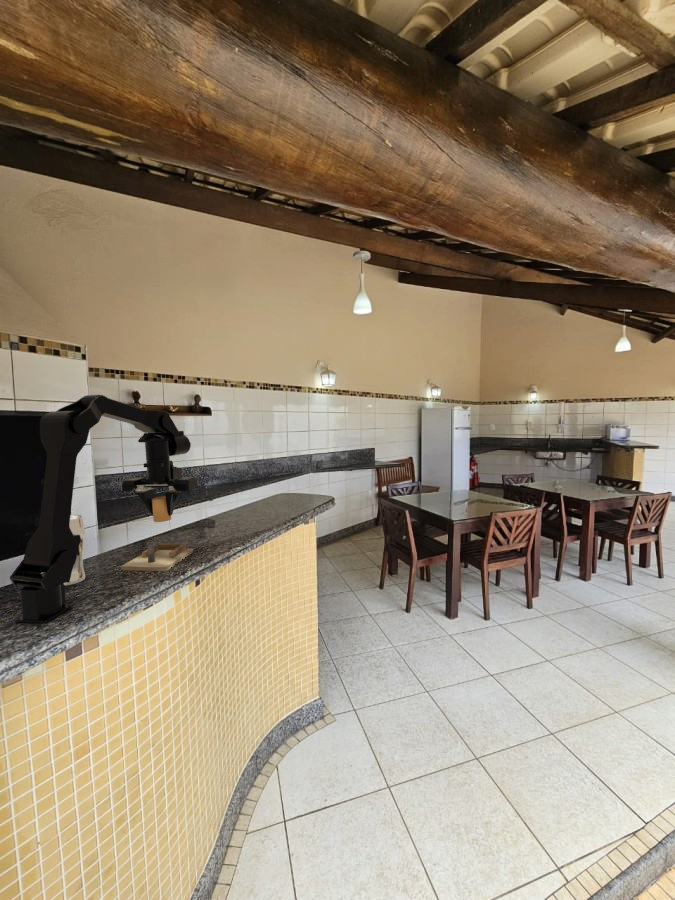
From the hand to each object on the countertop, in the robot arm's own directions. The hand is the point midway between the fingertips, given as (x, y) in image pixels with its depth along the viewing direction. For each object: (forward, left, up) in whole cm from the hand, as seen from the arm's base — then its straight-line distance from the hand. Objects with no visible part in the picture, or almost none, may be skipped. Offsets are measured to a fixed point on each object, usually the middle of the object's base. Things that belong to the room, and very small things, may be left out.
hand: (162, 515), depth 107 cm
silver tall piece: (-16, +14, -12) cm, 25 cm away
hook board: (-2, 0, -12) cm, 12 cm away
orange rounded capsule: (0, 0, -1) cm, 1 cm away
